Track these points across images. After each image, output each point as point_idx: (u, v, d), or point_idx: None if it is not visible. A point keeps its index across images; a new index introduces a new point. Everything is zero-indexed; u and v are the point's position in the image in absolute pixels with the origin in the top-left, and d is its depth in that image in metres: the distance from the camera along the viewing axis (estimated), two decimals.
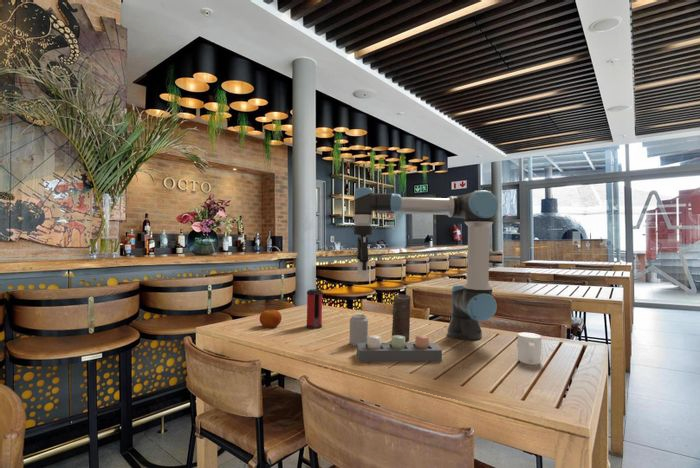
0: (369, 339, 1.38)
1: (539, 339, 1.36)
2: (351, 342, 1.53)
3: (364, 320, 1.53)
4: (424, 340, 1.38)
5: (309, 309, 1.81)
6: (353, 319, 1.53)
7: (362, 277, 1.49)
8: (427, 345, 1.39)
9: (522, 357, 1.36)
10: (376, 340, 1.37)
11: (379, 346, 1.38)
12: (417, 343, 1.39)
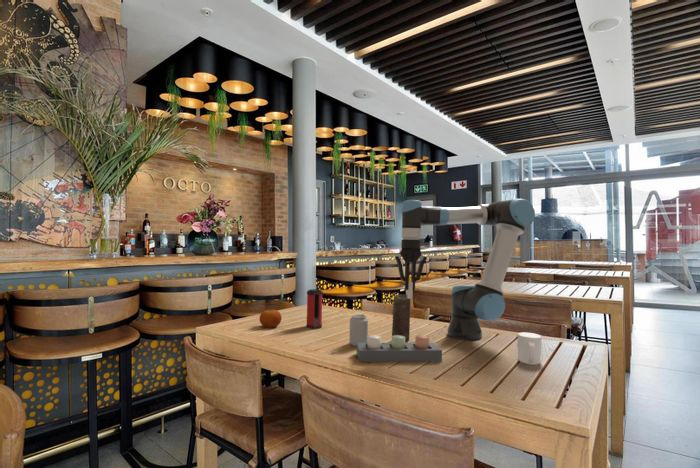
0: (369, 339, 1.38)
1: (539, 339, 1.36)
2: (351, 342, 1.53)
3: (364, 320, 1.53)
4: (424, 340, 1.38)
5: (309, 309, 1.81)
6: (353, 319, 1.53)
7: (407, 296, 1.51)
8: (427, 345, 1.39)
9: (522, 357, 1.36)
10: (376, 340, 1.37)
11: (379, 346, 1.38)
12: (417, 343, 1.39)
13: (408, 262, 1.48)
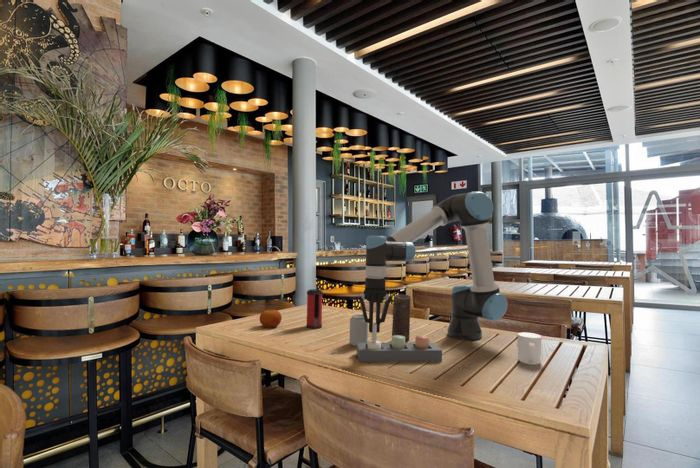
0: (369, 344, 1.38)
1: (539, 339, 1.36)
2: (351, 342, 1.53)
3: (364, 320, 1.53)
4: (424, 340, 1.38)
5: (309, 309, 1.81)
6: (353, 319, 1.53)
7: None
8: (427, 345, 1.39)
9: (522, 357, 1.36)
10: (376, 345, 1.37)
11: None
12: (417, 343, 1.39)
13: (372, 303, 1.38)
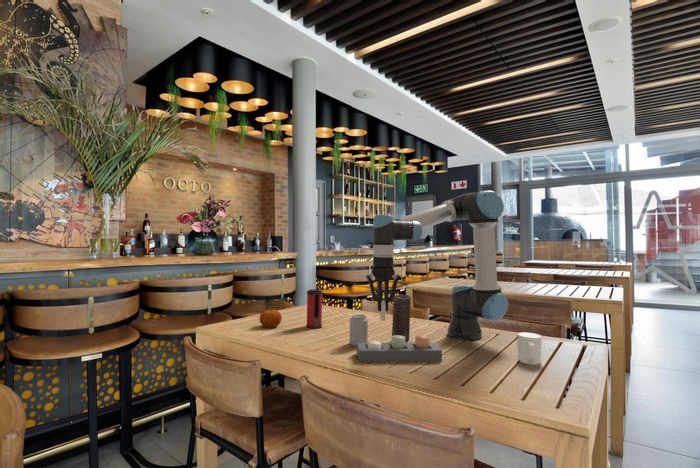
0: (369, 345, 1.38)
1: (539, 339, 1.36)
2: (351, 342, 1.53)
3: (364, 320, 1.53)
4: (424, 340, 1.38)
5: (309, 309, 1.81)
6: (353, 319, 1.53)
7: (380, 318, 1.40)
8: (427, 345, 1.39)
9: (522, 357, 1.36)
10: (376, 346, 1.37)
11: None
12: (417, 343, 1.39)
13: (380, 281, 1.38)
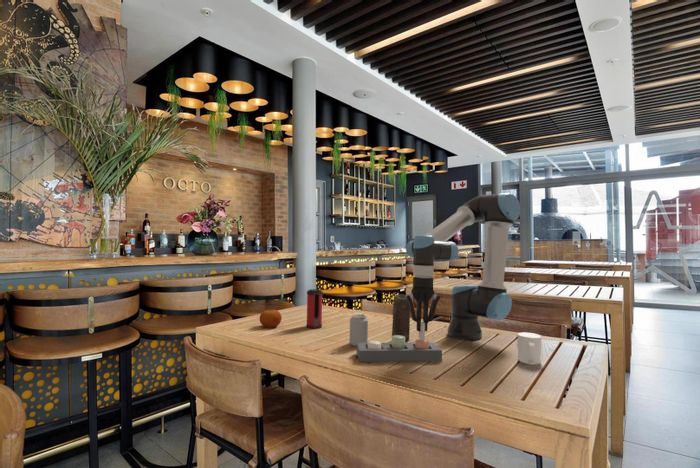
0: (369, 345, 1.38)
1: (539, 339, 1.36)
2: (351, 342, 1.53)
3: (364, 320, 1.53)
4: (424, 344, 1.38)
5: (309, 309, 1.81)
6: (353, 319, 1.53)
7: (419, 338, 1.41)
8: None
9: (522, 357, 1.36)
10: (376, 346, 1.37)
11: None
12: (417, 347, 1.39)
13: (420, 302, 1.39)
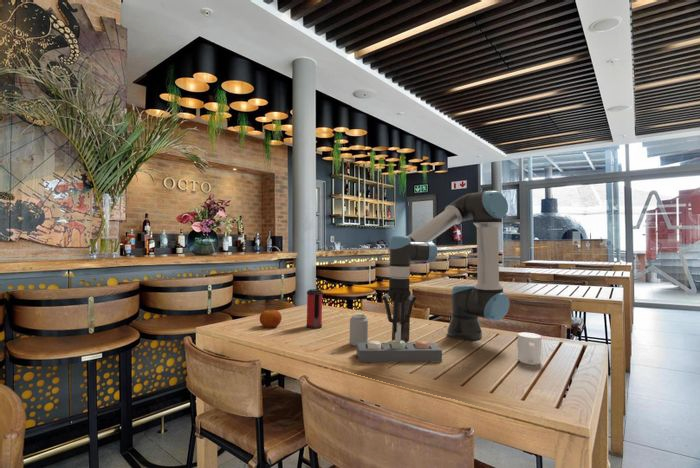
0: (369, 345, 1.38)
1: (539, 339, 1.36)
2: (351, 342, 1.53)
3: (364, 320, 1.53)
4: (424, 346, 1.38)
5: (309, 309, 1.81)
6: (353, 319, 1.53)
7: (395, 339, 1.40)
8: None
9: (522, 357, 1.36)
10: (376, 346, 1.37)
11: None
12: None
13: (396, 303, 1.38)
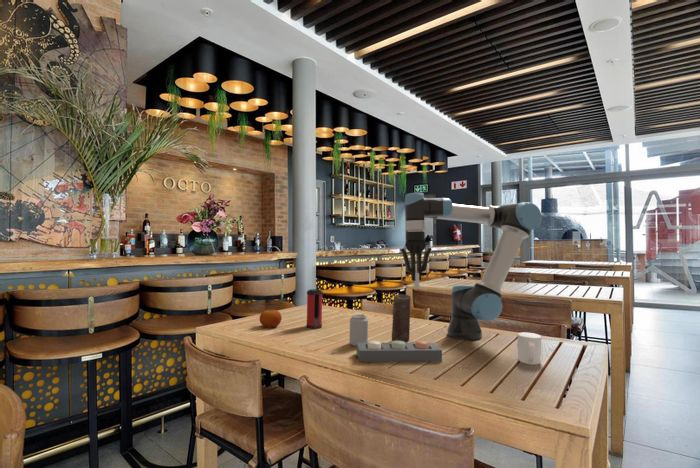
0: (369, 345, 1.38)
1: (539, 339, 1.36)
2: (351, 342, 1.53)
3: (364, 320, 1.53)
4: (424, 346, 1.38)
5: (309, 309, 1.81)
6: (353, 319, 1.53)
7: (414, 287, 1.54)
8: None
9: (522, 357, 1.36)
10: (376, 346, 1.37)
11: None
12: None
13: (414, 254, 1.52)
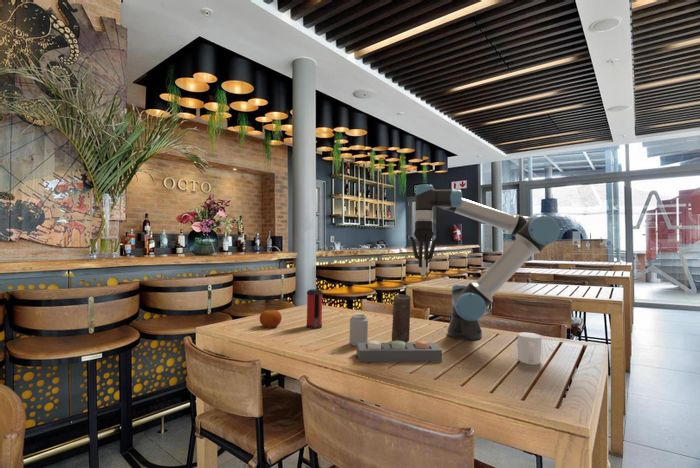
0: (369, 345, 1.38)
1: (539, 339, 1.36)
2: (351, 342, 1.53)
3: (364, 320, 1.53)
4: (424, 346, 1.38)
5: (309, 309, 1.81)
6: (353, 319, 1.53)
7: (421, 273, 1.64)
8: None
9: (522, 357, 1.36)
10: (376, 346, 1.37)
11: None
12: None
13: (421, 242, 1.61)
